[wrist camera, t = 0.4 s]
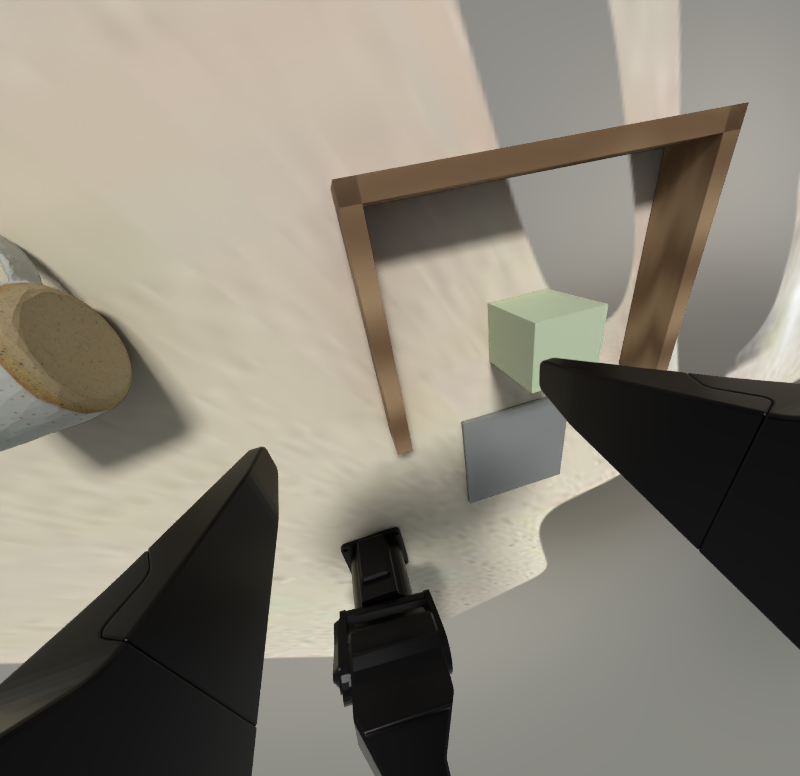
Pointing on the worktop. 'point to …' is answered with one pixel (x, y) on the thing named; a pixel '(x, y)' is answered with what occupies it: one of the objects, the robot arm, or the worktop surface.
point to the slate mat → (512, 448)
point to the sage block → (543, 332)
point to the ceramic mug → (52, 356)
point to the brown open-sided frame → (675, 193)
